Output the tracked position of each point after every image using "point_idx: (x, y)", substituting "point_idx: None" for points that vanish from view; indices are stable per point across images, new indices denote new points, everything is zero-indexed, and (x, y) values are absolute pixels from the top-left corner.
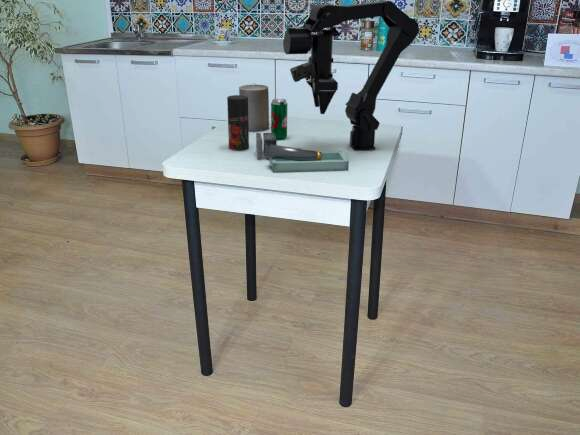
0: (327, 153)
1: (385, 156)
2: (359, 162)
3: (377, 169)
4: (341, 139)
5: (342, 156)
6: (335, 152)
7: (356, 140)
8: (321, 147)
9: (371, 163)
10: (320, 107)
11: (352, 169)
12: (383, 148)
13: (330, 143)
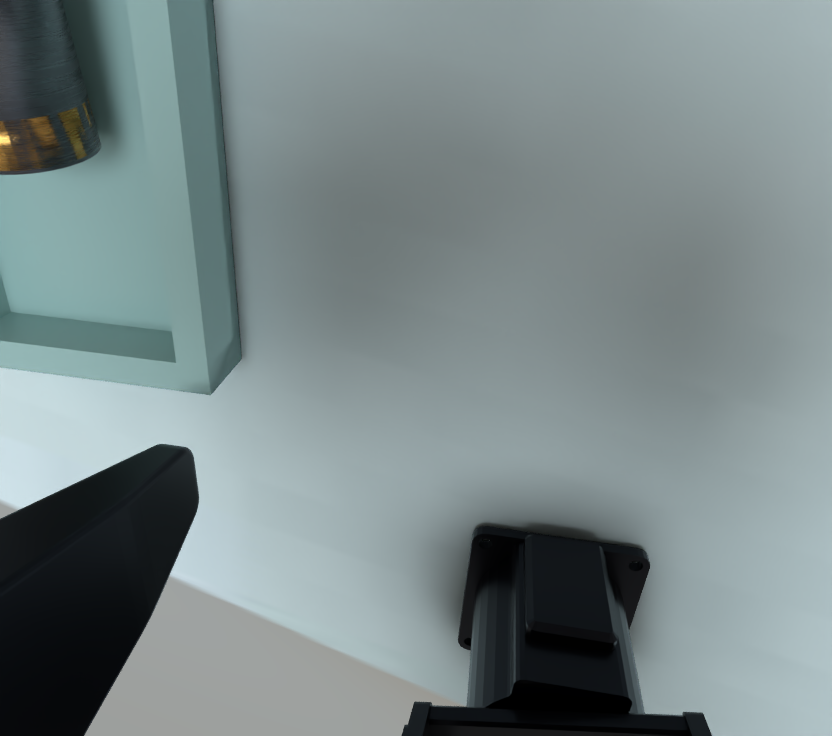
0: (164, 260)
1: (314, 628)
2: None
3: None
4: (827, 542)
5: (65, 354)
6: (175, 335)
7: (511, 596)
8: (638, 309)
9: None
10: (14, 524)
11: None
12: None
13: (741, 423)
